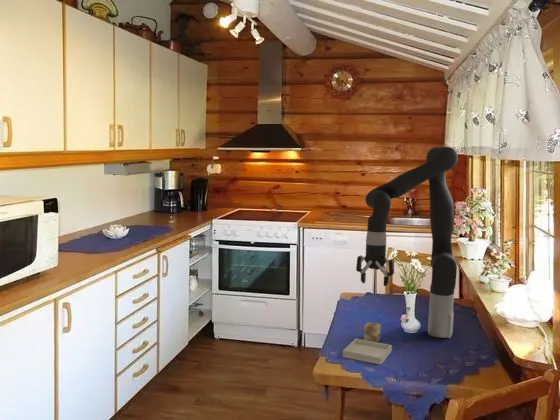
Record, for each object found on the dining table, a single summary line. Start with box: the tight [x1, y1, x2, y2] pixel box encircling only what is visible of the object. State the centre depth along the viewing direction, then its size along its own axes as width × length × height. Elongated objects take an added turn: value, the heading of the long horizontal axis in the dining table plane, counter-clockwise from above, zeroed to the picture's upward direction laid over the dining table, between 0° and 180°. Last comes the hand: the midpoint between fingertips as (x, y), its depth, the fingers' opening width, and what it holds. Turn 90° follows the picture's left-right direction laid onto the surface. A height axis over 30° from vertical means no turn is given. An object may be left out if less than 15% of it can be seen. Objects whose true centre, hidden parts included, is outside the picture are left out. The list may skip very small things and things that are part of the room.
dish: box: [342, 338, 393, 365], centre depth 201 cm, size 14×14×2 cm
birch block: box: [363, 321, 382, 343], centre depth 215 cm, size 5×5×6 cm
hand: (374, 284), depth 212 cm, fingers open, 8 cm apart
